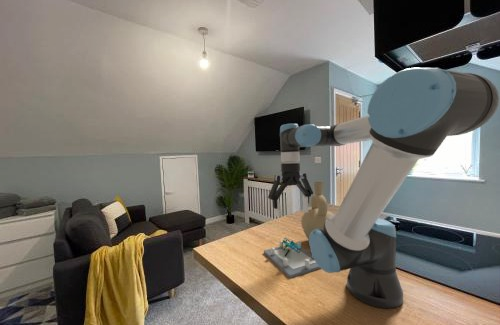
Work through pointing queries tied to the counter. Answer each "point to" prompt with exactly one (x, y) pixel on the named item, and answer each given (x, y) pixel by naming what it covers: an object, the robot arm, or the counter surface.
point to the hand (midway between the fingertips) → (291, 214)
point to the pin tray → (292, 260)
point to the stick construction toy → (290, 246)
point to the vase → (316, 211)
